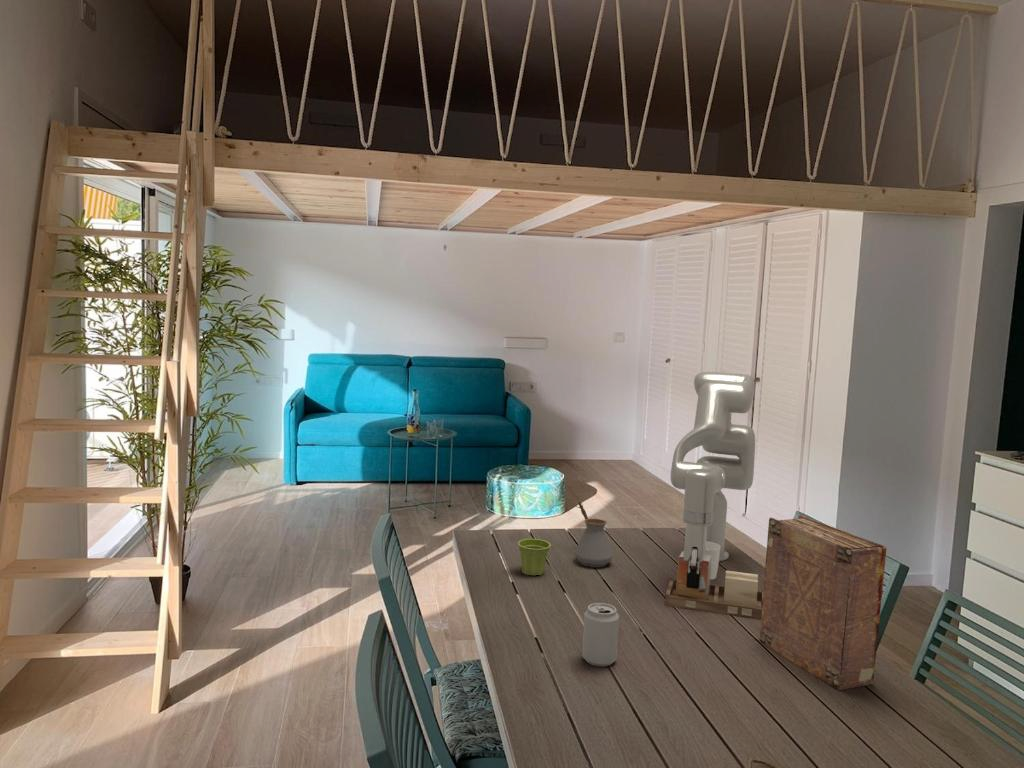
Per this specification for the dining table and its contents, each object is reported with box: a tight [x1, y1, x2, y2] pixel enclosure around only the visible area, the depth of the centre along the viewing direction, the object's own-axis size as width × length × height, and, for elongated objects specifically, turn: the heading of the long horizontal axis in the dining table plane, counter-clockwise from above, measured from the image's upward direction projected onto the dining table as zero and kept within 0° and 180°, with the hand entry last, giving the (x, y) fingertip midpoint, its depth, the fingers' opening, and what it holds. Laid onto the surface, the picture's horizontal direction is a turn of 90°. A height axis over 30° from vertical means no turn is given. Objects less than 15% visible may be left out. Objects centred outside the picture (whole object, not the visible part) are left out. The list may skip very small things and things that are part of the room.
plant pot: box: [517, 538, 552, 576], centre depth 229 cm, size 9×9×9 cm
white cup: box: [704, 541, 720, 581], centre depth 230 cm, size 8×8×10 cm
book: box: [759, 515, 887, 691], centre depth 177 cm, size 25×9×30 cm, turn 22°
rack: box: [664, 578, 764, 620], centre depth 209 cm, size 14×25×4 cm, turn 74°
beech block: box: [724, 570, 759, 607], centre depth 207 cm, size 6×8×8 cm
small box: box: [676, 550, 712, 600], centre depth 210 cm, size 8×6×10 cm
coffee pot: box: [574, 502, 614, 568], centre depth 244 cm, size 21×12×15 cm, turn 14°
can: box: [581, 602, 620, 667], centre depth 174 cm, size 8×8×12 cm
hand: (693, 582), depth 211 cm, fingers closed on small box, 5 cm apart
